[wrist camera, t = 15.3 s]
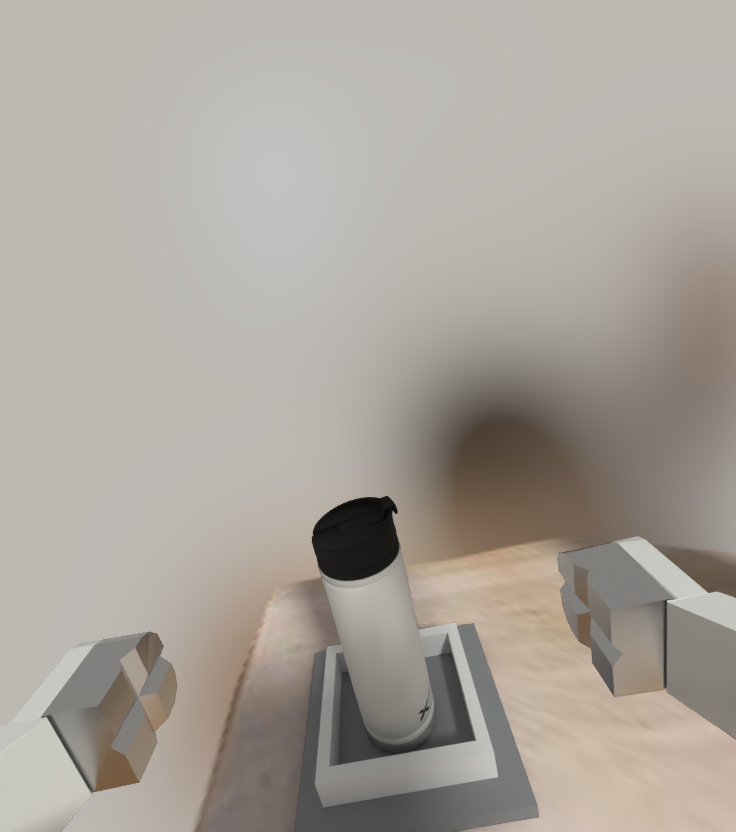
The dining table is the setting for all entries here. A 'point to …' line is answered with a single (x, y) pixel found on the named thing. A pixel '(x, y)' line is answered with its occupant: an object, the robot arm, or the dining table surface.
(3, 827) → the robot arm
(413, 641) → the travel mug
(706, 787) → the dining table surface
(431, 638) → the grey square tray
